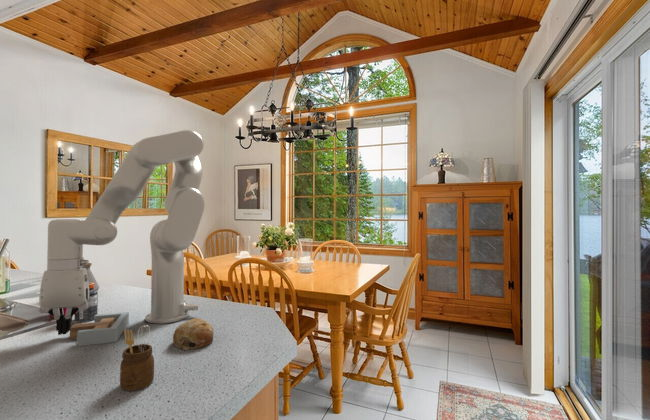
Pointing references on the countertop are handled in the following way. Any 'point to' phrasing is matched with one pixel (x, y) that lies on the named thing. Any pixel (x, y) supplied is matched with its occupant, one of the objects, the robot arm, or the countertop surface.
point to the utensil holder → (136, 364)
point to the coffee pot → (91, 276)
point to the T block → (90, 326)
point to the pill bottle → (92, 309)
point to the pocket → (104, 330)
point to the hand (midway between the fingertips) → (64, 332)
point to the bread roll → (193, 334)
